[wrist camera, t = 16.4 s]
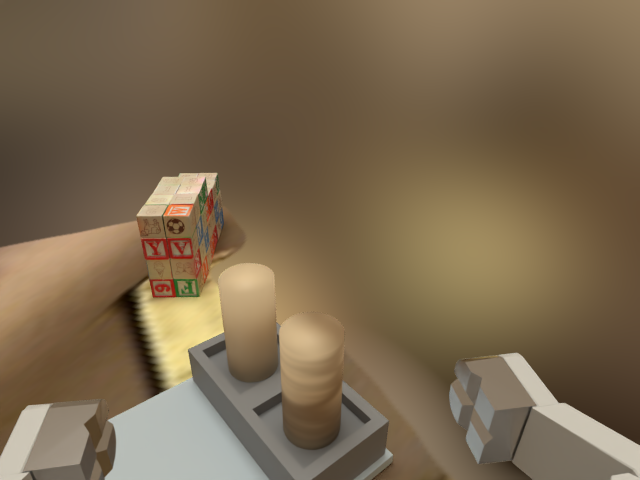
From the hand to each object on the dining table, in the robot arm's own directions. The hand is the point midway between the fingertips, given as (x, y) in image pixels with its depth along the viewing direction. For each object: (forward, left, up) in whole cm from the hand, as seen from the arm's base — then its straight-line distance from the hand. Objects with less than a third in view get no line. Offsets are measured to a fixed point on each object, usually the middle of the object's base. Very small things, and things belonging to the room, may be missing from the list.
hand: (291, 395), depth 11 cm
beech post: (+12, +14, -24) cm, 30 cm away
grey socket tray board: (+5, +19, -28) cm, 34 cm away
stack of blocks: (+19, +52, -28) cm, 62 cm away
